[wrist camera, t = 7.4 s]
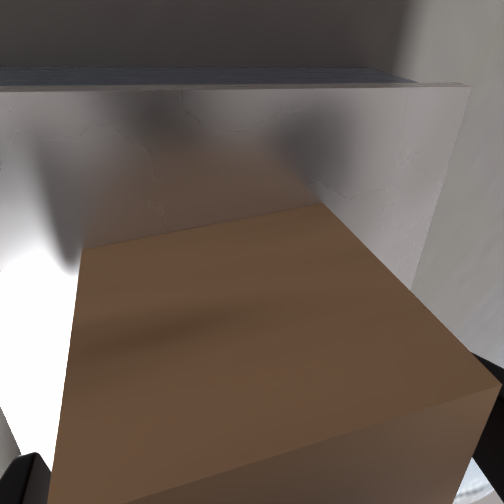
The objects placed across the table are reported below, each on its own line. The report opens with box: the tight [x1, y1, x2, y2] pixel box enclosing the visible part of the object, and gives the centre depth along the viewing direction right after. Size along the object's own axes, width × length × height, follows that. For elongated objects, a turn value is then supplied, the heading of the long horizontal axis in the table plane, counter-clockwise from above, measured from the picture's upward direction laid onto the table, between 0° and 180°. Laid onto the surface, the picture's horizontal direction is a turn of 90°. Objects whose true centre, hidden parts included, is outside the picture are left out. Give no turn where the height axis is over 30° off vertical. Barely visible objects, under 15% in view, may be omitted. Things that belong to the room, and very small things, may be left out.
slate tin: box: [0, 67, 472, 472], centre depth 14 cm, size 12×12×5 cm
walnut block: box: [47, 203, 502, 504], centre depth 9 cm, size 6×6×6 cm
